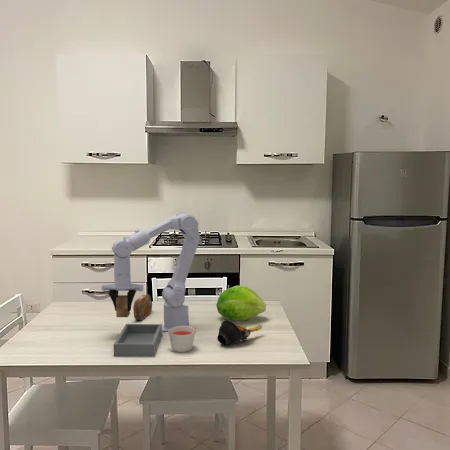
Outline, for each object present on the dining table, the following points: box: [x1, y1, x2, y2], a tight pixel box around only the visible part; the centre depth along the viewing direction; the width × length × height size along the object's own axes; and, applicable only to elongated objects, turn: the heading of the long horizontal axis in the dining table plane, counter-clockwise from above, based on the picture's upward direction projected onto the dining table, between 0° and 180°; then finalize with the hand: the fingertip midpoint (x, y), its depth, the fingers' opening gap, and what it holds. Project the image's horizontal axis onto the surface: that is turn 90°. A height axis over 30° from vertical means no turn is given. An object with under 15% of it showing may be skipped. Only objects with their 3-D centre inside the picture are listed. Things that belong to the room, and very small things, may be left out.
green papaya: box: [215, 285, 267, 322], centre depth 190 cm, size 15×20×14 cm
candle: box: [168, 325, 196, 353], centre depth 160 cm, size 9×9×6 cm
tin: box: [132, 294, 153, 321], centre depth 193 cm, size 15×3×8 cm, turn 168°
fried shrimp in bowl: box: [216, 319, 263, 346], centre depth 167 cm, size 9×11×18 cm
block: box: [115, 294, 131, 318], centre depth 171 cm, size 4×4×7 cm
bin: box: [113, 323, 163, 357], centre depth 163 cm, size 13×20×4 cm, turn 0°
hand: (123, 310), depth 171 cm, fingers closed on block, 4 cm apart
